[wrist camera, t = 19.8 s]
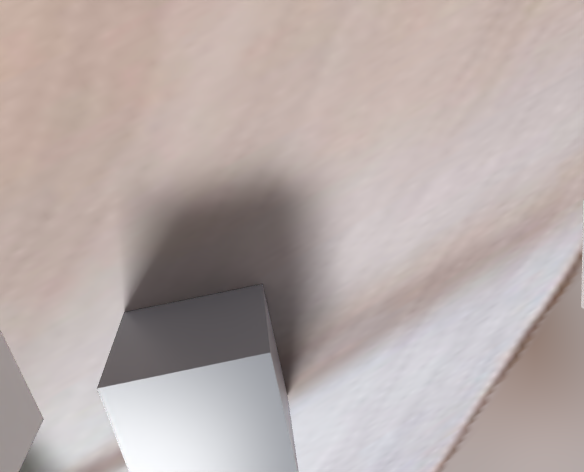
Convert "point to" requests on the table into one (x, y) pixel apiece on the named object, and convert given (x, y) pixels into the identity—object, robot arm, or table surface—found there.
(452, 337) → the table surface
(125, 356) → the slate gray cube
